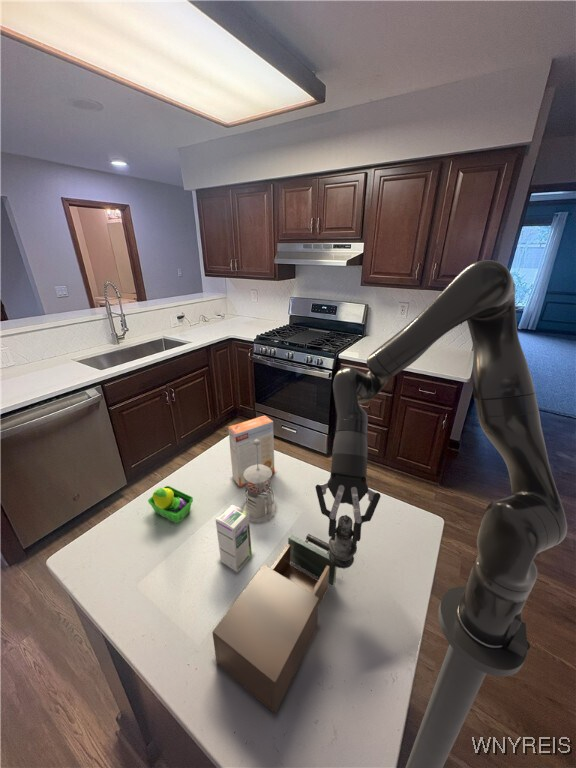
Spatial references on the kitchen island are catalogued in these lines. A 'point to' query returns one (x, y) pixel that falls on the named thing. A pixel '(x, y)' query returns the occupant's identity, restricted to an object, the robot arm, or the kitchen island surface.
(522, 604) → the robot arm
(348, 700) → the kitchen island surface
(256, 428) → the cracker box
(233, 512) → the syrup box
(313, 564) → the drawer
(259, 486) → the french press
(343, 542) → the stone chess piece
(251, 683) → the cabinet
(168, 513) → the fruit basket
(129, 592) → the kitchen island surface
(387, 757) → the kitchen island surface
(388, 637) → the kitchen island surface
